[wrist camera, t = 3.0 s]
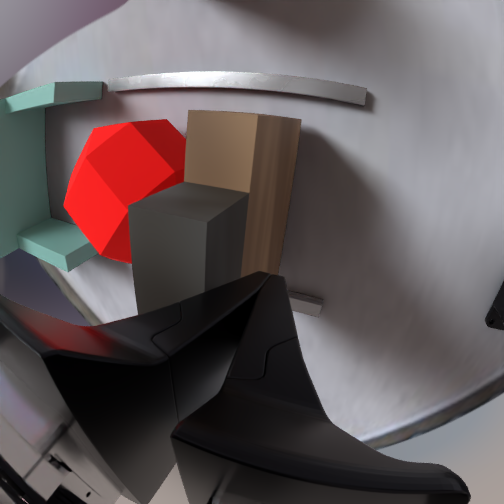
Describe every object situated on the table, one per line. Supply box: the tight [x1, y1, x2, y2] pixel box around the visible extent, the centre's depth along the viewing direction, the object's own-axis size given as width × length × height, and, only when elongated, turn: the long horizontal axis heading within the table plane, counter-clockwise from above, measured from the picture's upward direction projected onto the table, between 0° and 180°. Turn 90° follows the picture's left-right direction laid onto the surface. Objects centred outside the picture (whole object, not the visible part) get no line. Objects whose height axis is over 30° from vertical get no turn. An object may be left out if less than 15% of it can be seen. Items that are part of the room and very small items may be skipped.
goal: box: [0, 82, 103, 272], centre depth 20 cm, size 10×15×8 cm
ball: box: [64, 119, 186, 264], centre depth 17 cm, size 8×8×8 cm
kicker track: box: [107, 72, 367, 317], centre depth 19 cm, size 18×15×1 cm
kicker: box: [128, 110, 302, 315], centre depth 13 cm, size 2×10×11 cm, turn 173°
